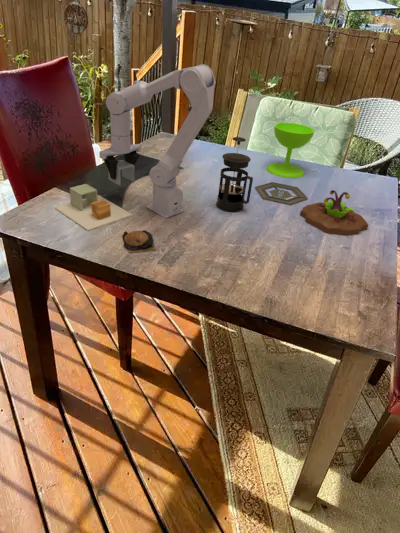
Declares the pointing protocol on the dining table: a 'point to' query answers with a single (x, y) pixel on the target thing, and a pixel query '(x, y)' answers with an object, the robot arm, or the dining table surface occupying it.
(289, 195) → the hexagonal trivet
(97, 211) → the orange block
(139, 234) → the wood slice
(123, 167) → the near cover
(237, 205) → the french press
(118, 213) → the mat
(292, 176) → the wineglass
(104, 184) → the dining table surface
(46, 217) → the dining table surface
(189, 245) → the dining table surface
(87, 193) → the far cover
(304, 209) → the plant
